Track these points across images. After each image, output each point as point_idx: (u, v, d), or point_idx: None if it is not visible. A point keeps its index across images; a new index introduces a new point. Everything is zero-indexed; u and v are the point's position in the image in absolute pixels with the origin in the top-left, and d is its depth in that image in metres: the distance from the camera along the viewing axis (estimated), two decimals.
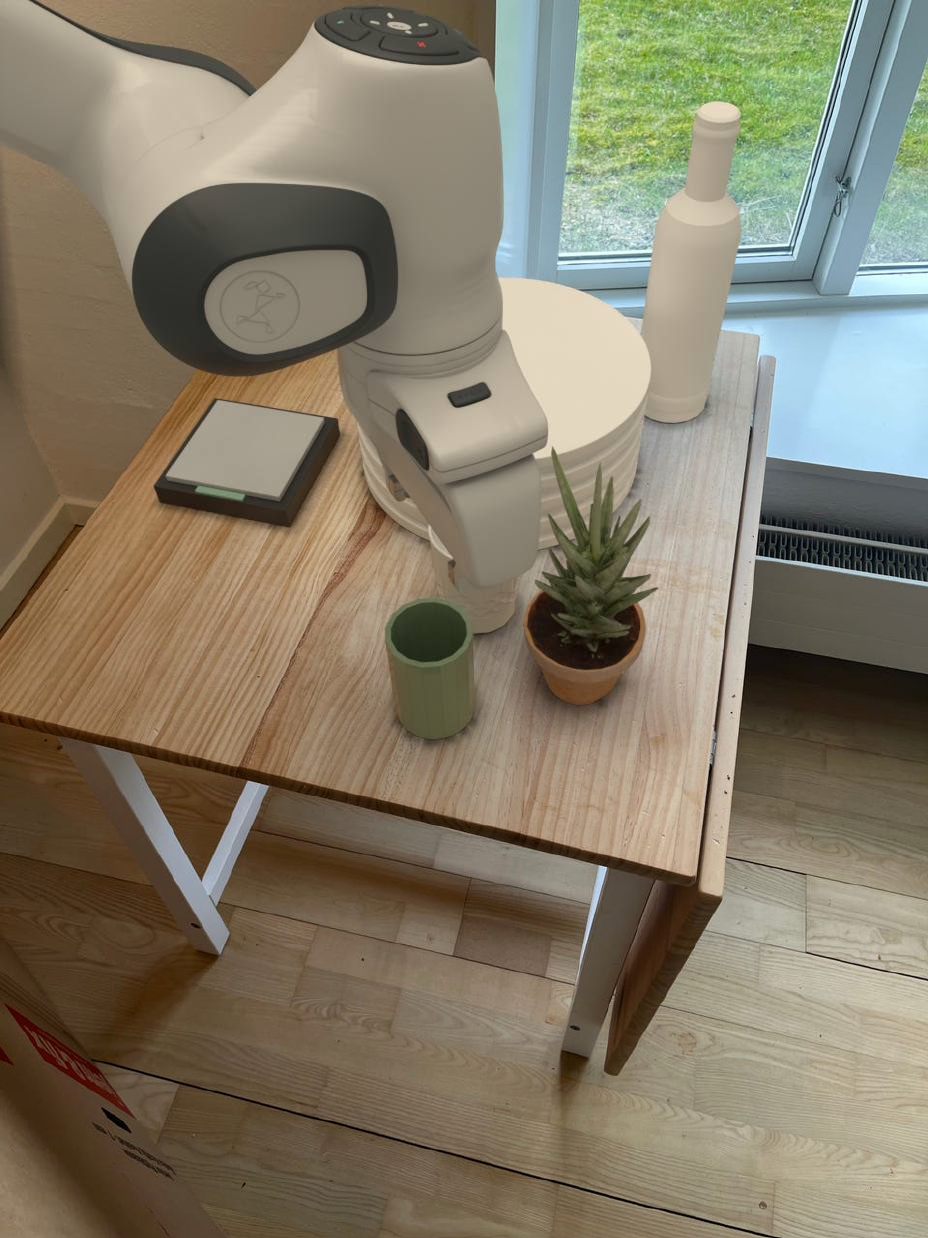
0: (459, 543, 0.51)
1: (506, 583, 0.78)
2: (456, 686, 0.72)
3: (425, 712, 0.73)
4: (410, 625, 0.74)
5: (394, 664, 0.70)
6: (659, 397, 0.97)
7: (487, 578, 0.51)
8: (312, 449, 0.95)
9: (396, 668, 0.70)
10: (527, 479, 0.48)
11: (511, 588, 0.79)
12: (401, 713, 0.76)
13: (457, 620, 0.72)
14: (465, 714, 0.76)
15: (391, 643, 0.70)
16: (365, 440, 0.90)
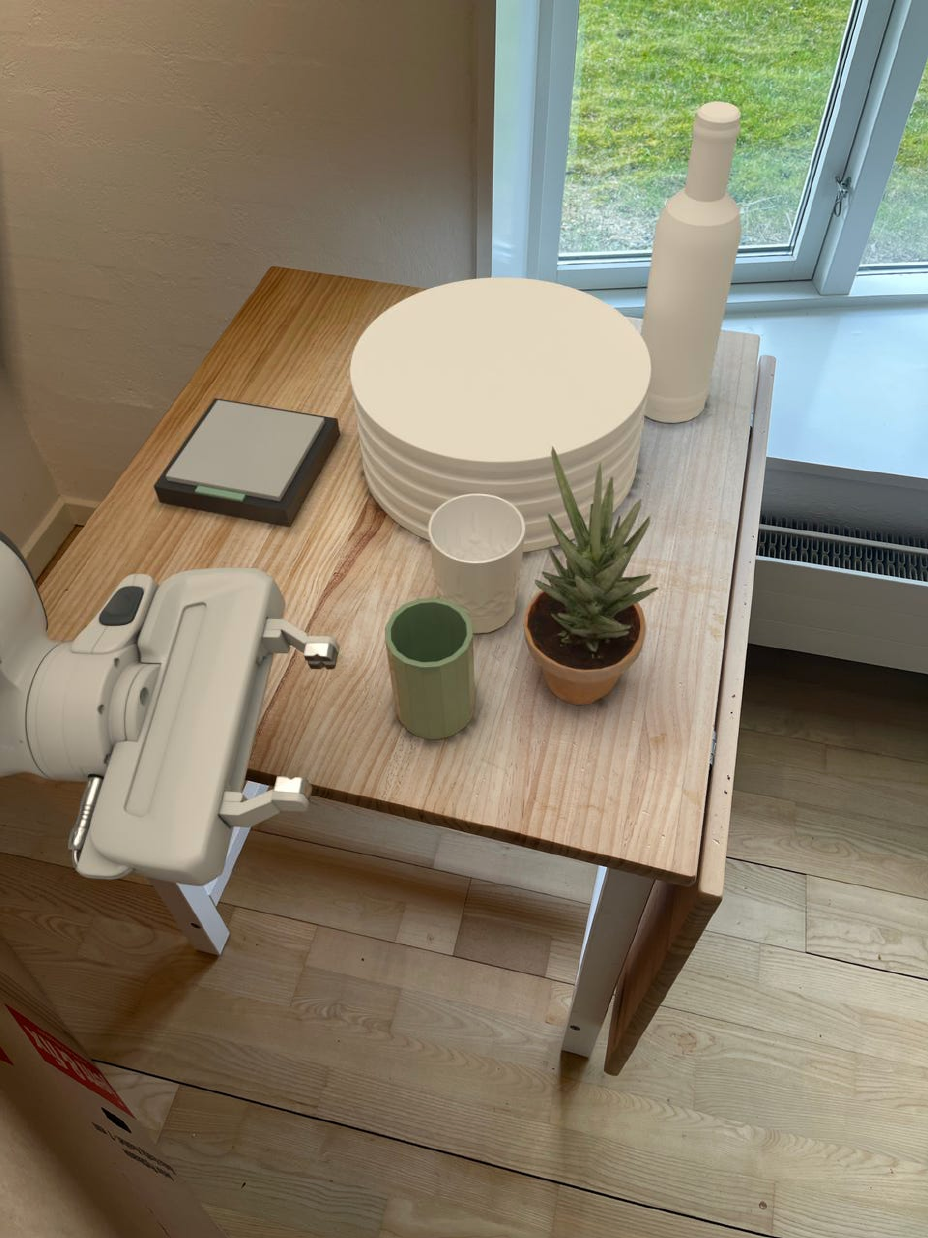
0: (231, 595, 0.61)
1: (506, 583, 0.78)
2: (456, 686, 0.72)
3: (425, 712, 0.73)
4: (410, 625, 0.74)
5: (394, 664, 0.70)
6: (659, 397, 0.97)
7: None
8: (312, 449, 0.95)
9: (396, 668, 0.70)
10: None
11: (511, 588, 0.79)
12: (401, 713, 0.76)
13: (457, 620, 0.72)
14: (465, 714, 0.76)
15: (391, 643, 0.70)
16: (365, 440, 0.90)
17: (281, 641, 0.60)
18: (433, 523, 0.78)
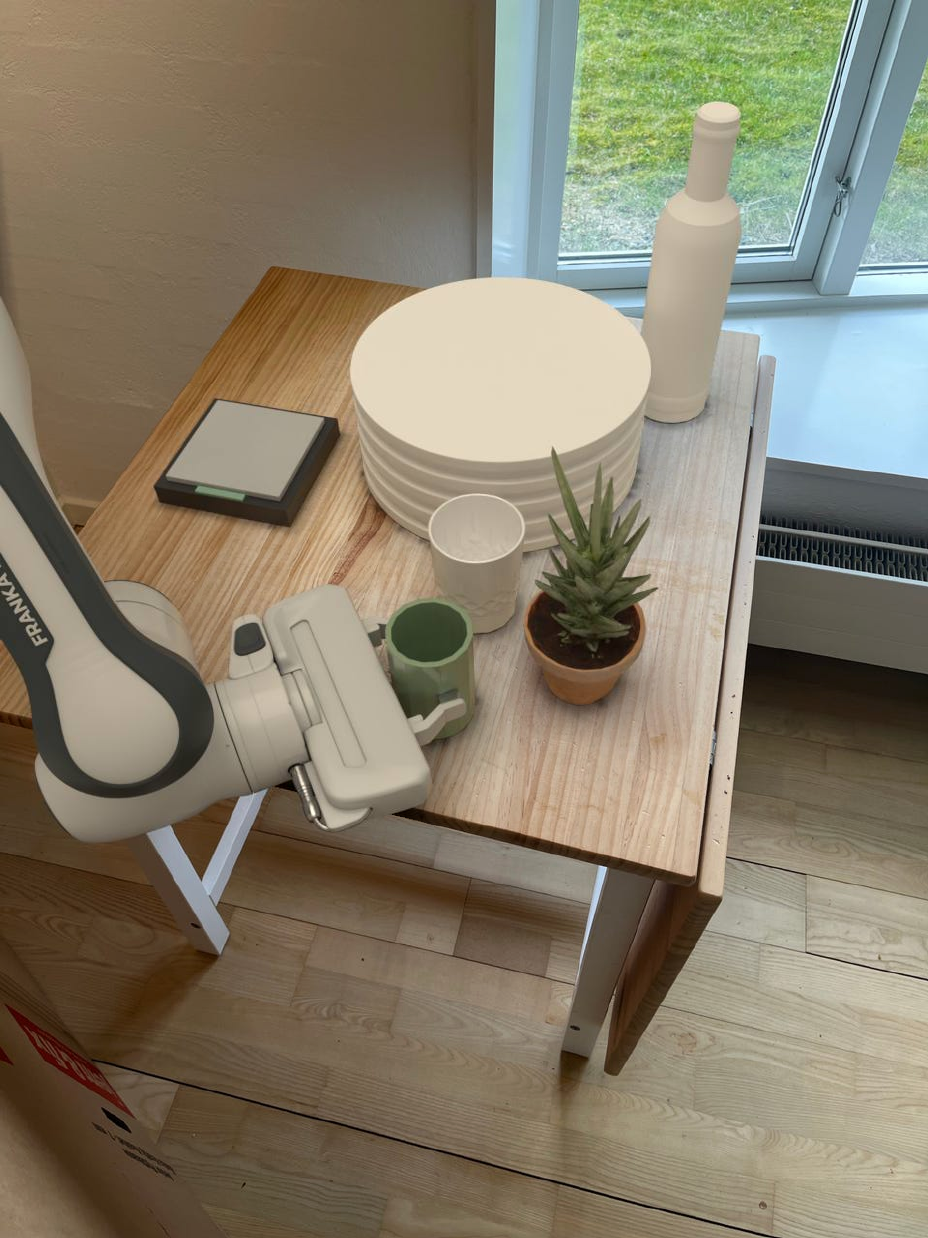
0: (322, 606, 0.76)
1: (506, 583, 0.78)
2: (457, 686, 0.72)
3: (425, 712, 0.73)
4: (410, 625, 0.74)
5: (394, 664, 0.70)
6: (659, 397, 0.97)
7: None
8: (312, 449, 0.95)
9: (396, 668, 0.70)
10: None
11: (511, 588, 0.79)
12: None
13: (457, 620, 0.72)
14: (465, 714, 0.76)
15: (391, 643, 0.70)
16: (365, 440, 0.90)
17: (379, 633, 0.76)
18: (433, 523, 0.78)
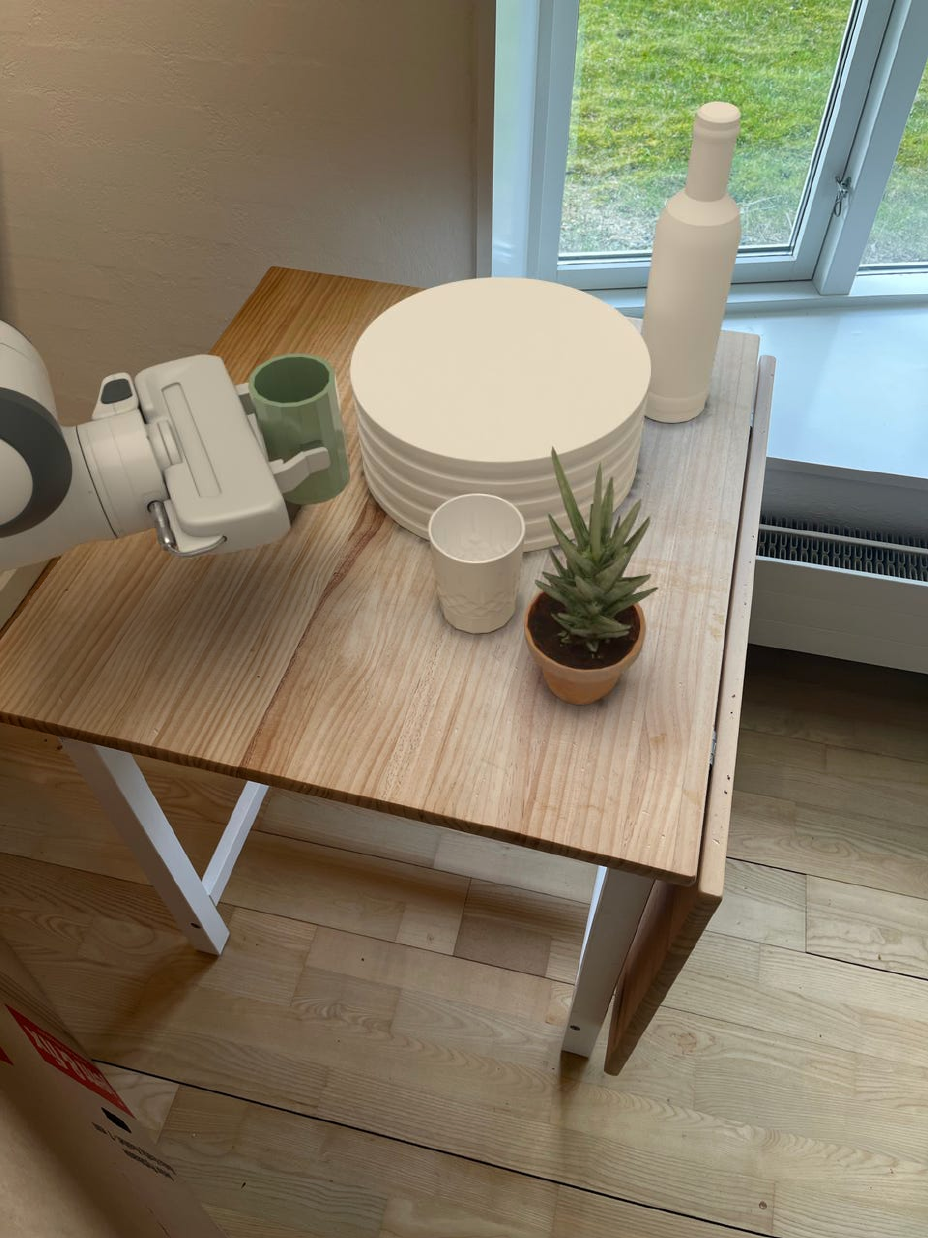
0: (196, 371, 0.77)
1: (506, 583, 0.78)
2: (321, 436, 0.72)
3: None
4: (279, 383, 0.75)
5: (257, 410, 0.71)
6: (659, 397, 0.97)
7: None
8: None
9: (259, 415, 0.71)
10: None
11: (511, 588, 0.79)
12: None
13: (323, 375, 0.73)
14: (336, 478, 0.76)
15: (253, 388, 0.71)
16: (365, 440, 0.90)
17: None
18: (433, 523, 0.78)
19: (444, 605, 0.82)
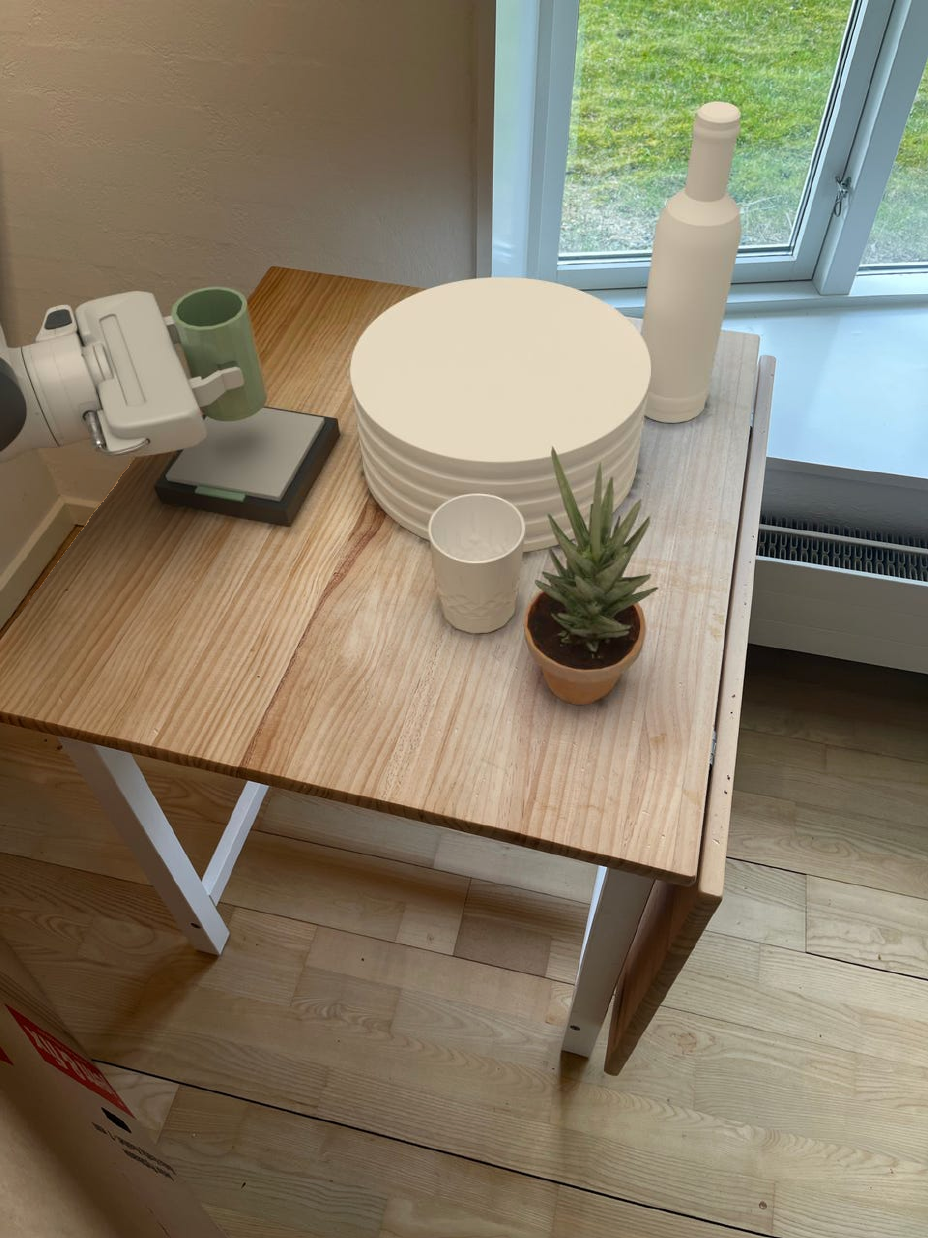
0: (129, 305, 0.88)
1: (506, 583, 0.78)
2: (236, 358, 0.84)
3: None
4: (200, 313, 0.86)
5: (179, 334, 0.82)
6: (659, 397, 0.97)
7: None
8: (312, 449, 0.95)
9: (181, 338, 0.83)
10: None
11: (511, 588, 0.79)
12: None
13: (238, 305, 0.85)
14: (253, 397, 0.88)
15: (175, 315, 0.82)
16: (365, 440, 0.90)
17: None
18: (433, 523, 0.78)
19: (444, 605, 0.82)
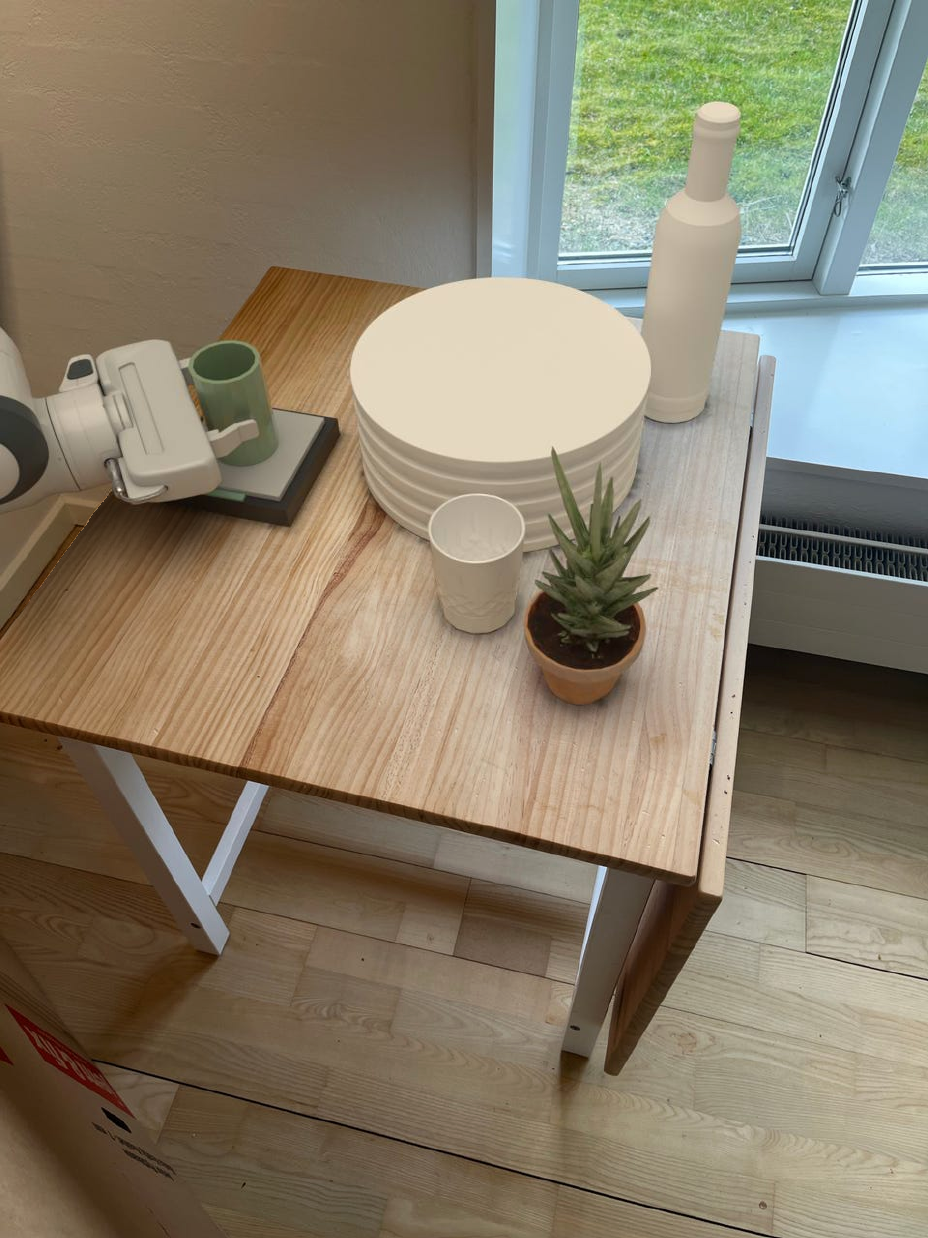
0: (147, 353, 0.92)
1: (506, 583, 0.78)
2: (249, 409, 0.88)
3: None
4: (216, 365, 0.90)
5: (195, 387, 0.87)
6: (659, 397, 0.97)
7: None
8: (312, 449, 0.95)
9: (197, 391, 0.87)
10: None
11: (511, 588, 0.79)
12: None
13: (252, 358, 0.89)
14: (265, 444, 0.92)
15: (192, 368, 0.87)
16: (365, 440, 0.90)
17: None
18: (433, 523, 0.78)
19: (444, 605, 0.82)
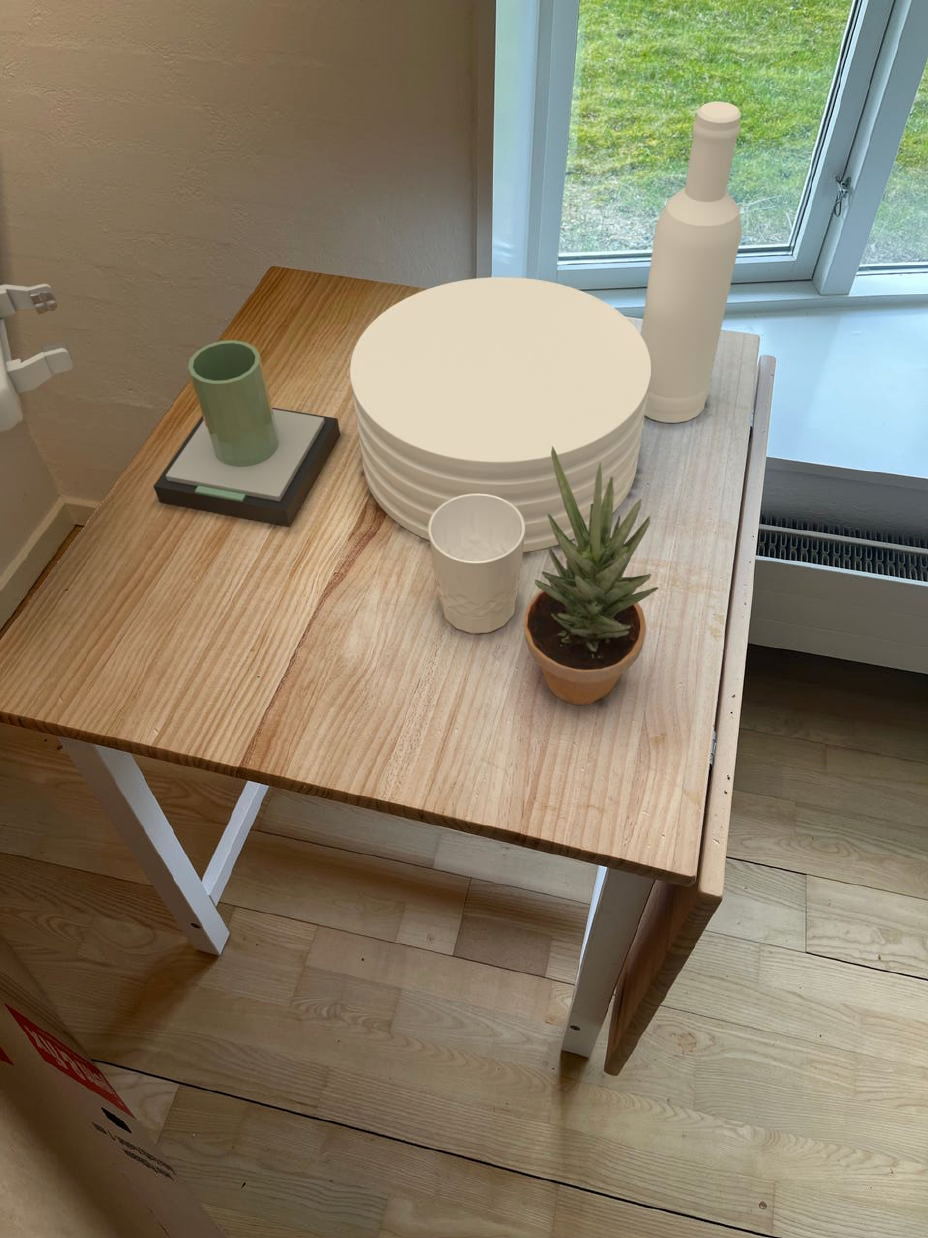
0: None
1: (506, 583, 0.78)
2: (249, 409, 0.88)
3: (227, 435, 0.90)
4: (216, 365, 0.90)
5: (195, 387, 0.87)
6: (659, 397, 0.97)
7: None
8: (312, 449, 0.95)
9: (197, 391, 0.87)
10: None
11: (511, 588, 0.79)
12: (212, 443, 0.92)
13: (252, 358, 0.89)
14: (265, 444, 0.92)
15: (192, 368, 0.87)
16: (365, 440, 0.90)
17: (8, 298, 0.80)
18: (433, 523, 0.78)
19: (444, 605, 0.82)
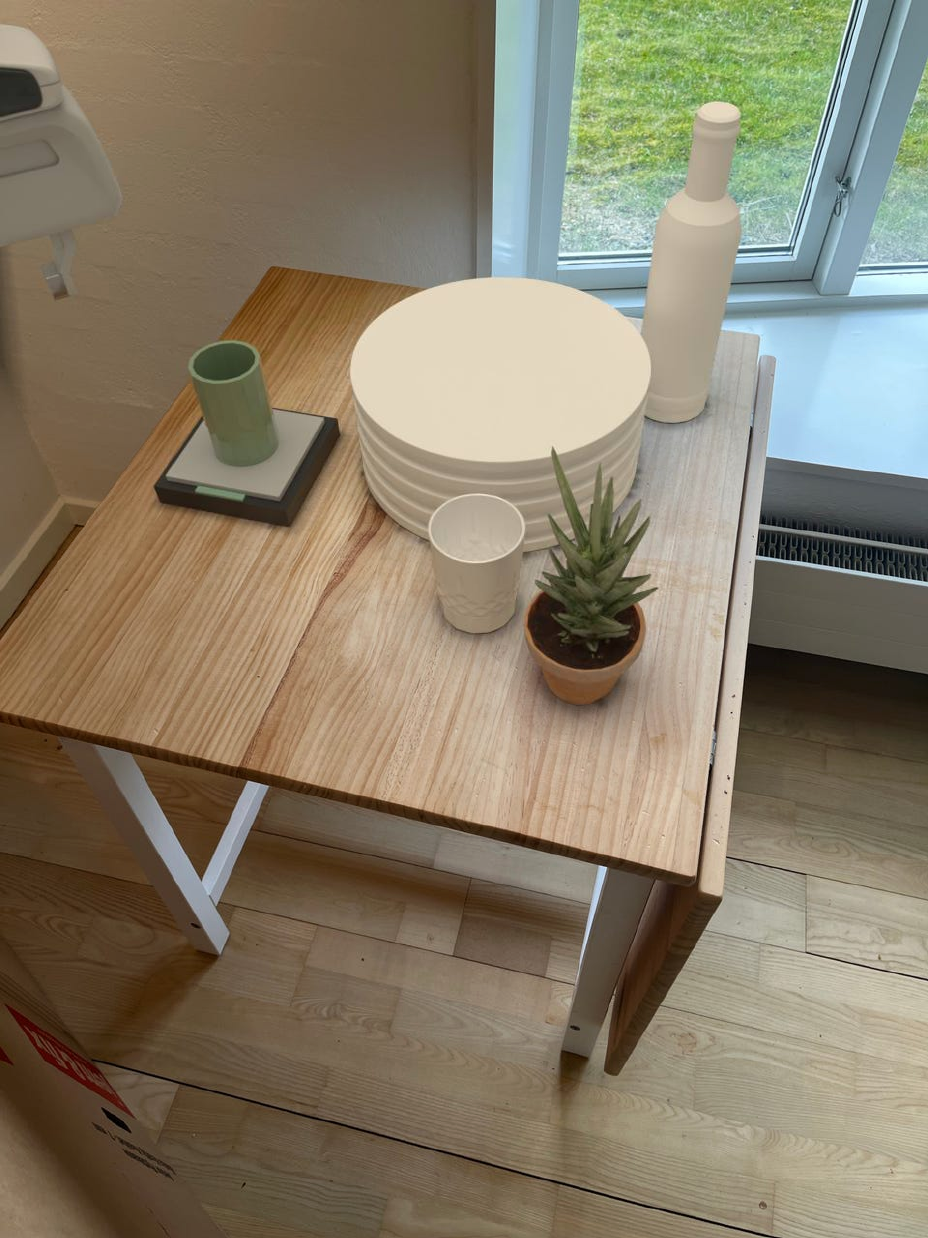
0: (79, 188, 0.56)
1: (506, 583, 0.78)
2: (249, 409, 0.88)
3: (227, 435, 0.90)
4: (216, 365, 0.90)
5: (195, 387, 0.87)
6: (659, 397, 0.97)
7: None
8: (312, 449, 0.95)
9: (197, 391, 0.87)
10: (64, 87, 0.55)
11: (511, 588, 0.79)
12: (212, 443, 0.92)
13: (252, 358, 0.89)
14: (265, 444, 0.92)
15: (192, 368, 0.87)
16: (365, 440, 0.90)
17: None
18: (433, 523, 0.78)
19: (444, 605, 0.82)
